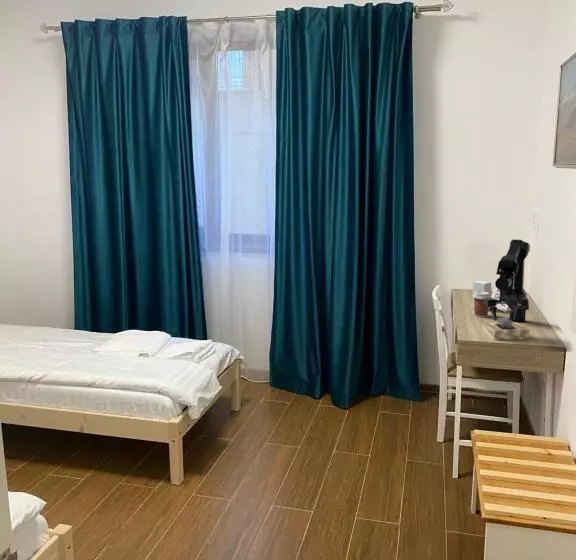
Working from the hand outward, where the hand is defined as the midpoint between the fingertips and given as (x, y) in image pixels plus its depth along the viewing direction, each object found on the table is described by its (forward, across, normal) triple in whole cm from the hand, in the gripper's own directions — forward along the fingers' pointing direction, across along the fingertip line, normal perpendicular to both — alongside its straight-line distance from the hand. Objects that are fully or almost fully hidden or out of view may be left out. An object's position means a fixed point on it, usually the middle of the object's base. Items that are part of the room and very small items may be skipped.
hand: (504, 320), depth 276 cm
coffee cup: (+7, +3, +36) cm, 37 cm away
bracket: (+7, 0, 0) cm, 7 cm away
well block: (+7, 0, -1) cm, 7 cm away
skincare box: (+7, +9, +51) cm, 52 cm away
